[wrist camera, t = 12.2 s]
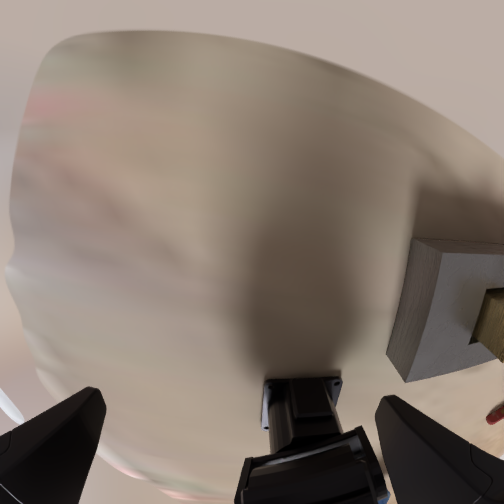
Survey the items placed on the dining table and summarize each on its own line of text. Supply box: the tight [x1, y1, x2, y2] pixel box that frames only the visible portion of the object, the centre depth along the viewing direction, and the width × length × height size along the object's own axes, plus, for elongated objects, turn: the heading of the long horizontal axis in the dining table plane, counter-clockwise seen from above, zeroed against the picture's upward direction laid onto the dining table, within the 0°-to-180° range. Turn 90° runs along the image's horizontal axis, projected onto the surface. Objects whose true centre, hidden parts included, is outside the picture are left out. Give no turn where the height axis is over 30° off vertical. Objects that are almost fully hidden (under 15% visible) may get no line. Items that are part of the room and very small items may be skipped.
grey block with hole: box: [386, 238, 504, 383], centre depth 18 cm, size 10×16×4 cm, turn 88°
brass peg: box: [472, 287, 504, 363], centre depth 16 cm, size 4×4×8 cm
